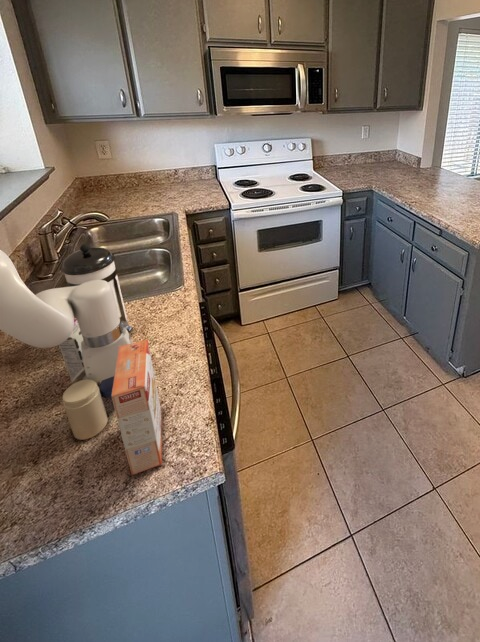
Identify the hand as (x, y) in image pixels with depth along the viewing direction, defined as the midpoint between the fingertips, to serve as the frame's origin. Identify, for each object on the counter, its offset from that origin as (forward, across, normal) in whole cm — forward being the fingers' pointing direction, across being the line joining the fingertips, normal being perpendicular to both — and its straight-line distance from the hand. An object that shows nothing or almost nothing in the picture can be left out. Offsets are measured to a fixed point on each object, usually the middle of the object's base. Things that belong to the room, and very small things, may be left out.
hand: (119, 391), depth 87 cm
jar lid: (-3, 0, 0) cm, 3 cm away
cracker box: (+2, -4, +16) cm, 16 cm away
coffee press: (+2, +1, -28) cm, 28 cm away
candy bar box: (+2, +5, -12) cm, 13 cm away
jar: (+2, +6, +5) cm, 8 cm away
